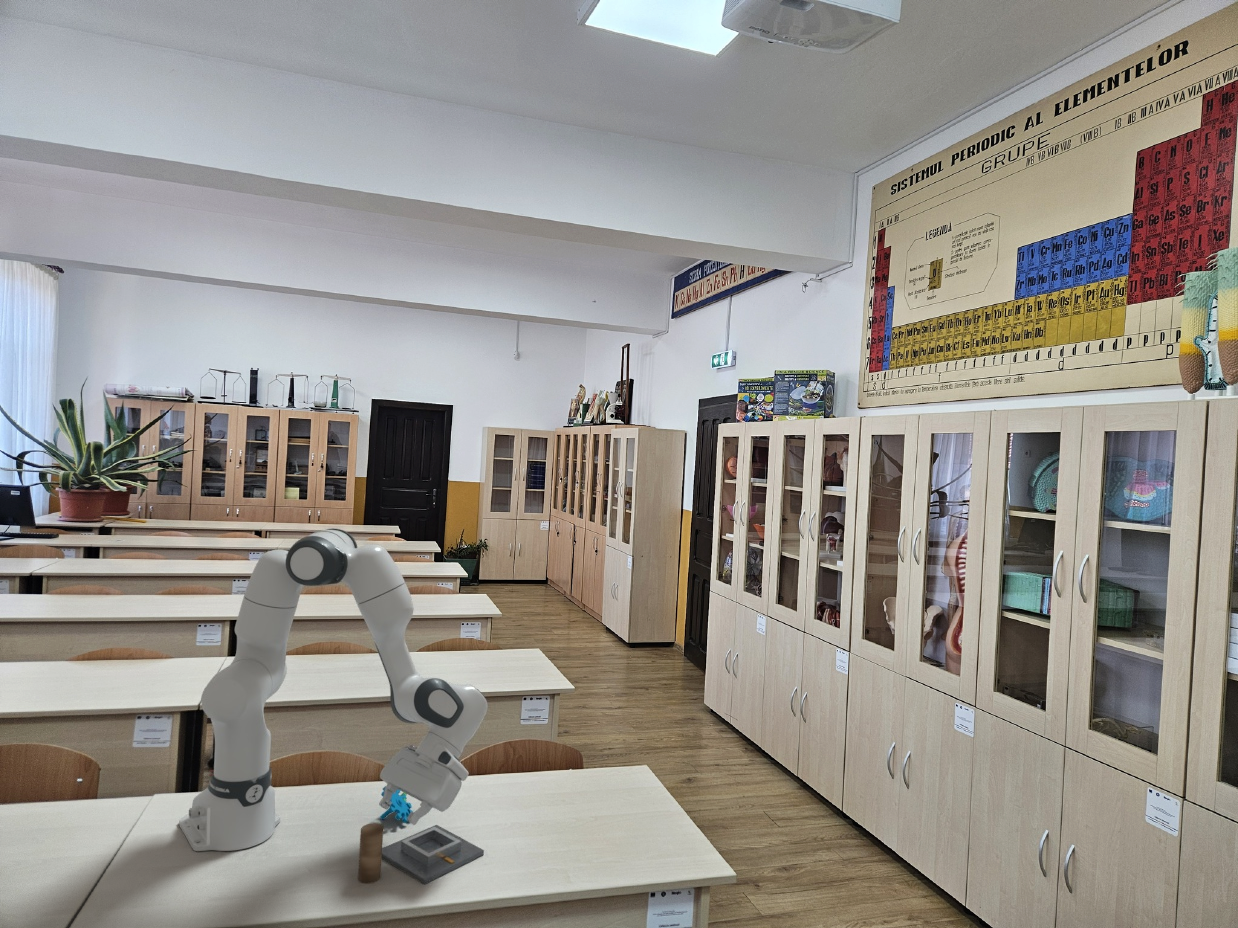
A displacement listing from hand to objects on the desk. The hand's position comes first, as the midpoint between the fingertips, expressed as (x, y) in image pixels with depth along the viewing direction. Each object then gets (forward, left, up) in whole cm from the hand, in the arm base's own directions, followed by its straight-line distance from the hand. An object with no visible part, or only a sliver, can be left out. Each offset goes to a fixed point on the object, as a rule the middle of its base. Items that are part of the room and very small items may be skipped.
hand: (396, 814), depth 163 cm
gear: (-16, +13, -11) cm, 24 cm away
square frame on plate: (+2, +8, -11) cm, 14 cm away
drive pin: (0, -6, -11) cm, 12 cm away
